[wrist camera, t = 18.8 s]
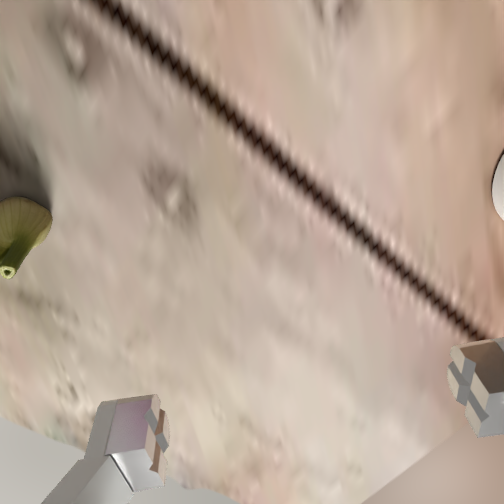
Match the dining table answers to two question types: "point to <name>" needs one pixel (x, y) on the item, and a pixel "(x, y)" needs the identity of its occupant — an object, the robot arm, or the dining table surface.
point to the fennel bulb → (20, 231)
